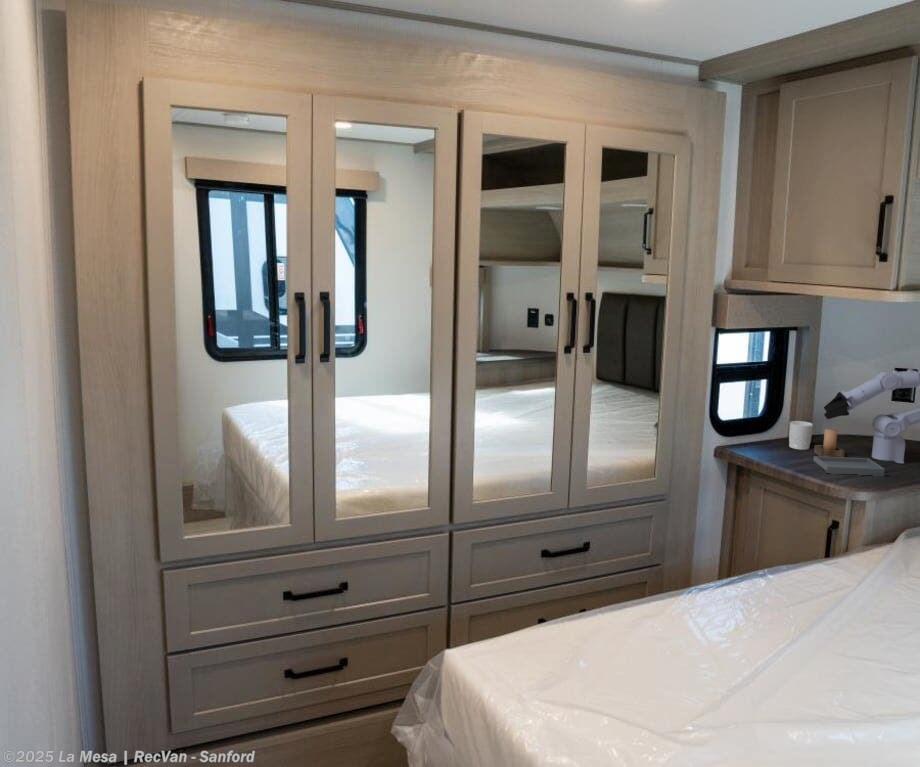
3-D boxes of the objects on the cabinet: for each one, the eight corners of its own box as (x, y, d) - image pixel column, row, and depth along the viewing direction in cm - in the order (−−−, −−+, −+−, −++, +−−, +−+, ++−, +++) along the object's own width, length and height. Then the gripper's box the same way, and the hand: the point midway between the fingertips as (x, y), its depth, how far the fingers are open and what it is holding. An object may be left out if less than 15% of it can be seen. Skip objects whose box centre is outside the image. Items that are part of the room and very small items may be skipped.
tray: (867, 465, 263) (868, 458, 262) (884, 476, 250) (884, 469, 250) (813, 463, 265) (813, 456, 264) (826, 474, 252) (827, 466, 252)
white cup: (812, 453, 278) (815, 426, 276) (789, 451, 280) (792, 425, 278) (807, 447, 286) (810, 421, 284) (785, 446, 287) (787, 420, 286)
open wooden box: (835, 455, 276) (836, 445, 275) (843, 460, 268) (844, 451, 267) (813, 454, 276) (814, 445, 276) (821, 460, 269) (822, 450, 268)
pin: (832, 453, 274) (834, 429, 272) (836, 456, 270) (839, 431, 268) (820, 453, 274) (823, 428, 273) (824, 456, 270) (827, 431, 269)
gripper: (854, 391, 274) (819, 410, 277) (855, 377, 262) (818, 397, 265) (866, 407, 271) (830, 426, 274) (868, 393, 259) (830, 413, 261)
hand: (825, 413), depth 269 cm, fingers open, 7 cm apart
